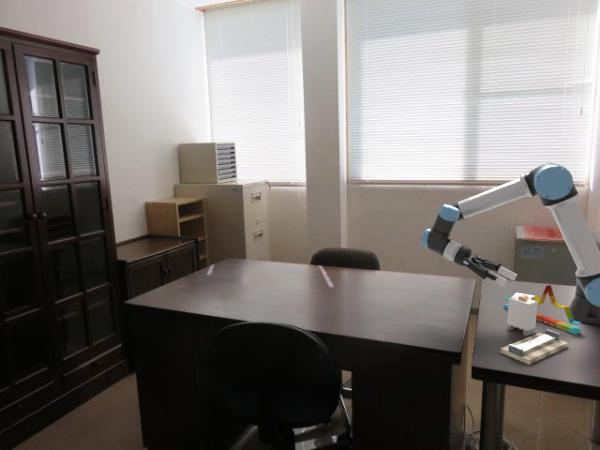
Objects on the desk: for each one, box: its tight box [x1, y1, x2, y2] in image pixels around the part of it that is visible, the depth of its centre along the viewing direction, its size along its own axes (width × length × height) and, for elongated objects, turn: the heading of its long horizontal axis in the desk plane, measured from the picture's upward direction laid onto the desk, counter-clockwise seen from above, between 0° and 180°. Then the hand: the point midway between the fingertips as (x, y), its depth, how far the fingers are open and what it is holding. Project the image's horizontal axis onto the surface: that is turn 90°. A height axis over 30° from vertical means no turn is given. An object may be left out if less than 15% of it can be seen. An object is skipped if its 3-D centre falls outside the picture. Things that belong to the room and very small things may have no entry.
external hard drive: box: [511, 292, 535, 301], centre depth 199 cm, size 2×8×12 cm
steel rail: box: [508, 328, 561, 357], centre depth 152 cm, size 22×4×2 cm, turn 121°
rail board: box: [500, 332, 569, 365], centre depth 153 cm, size 22×10×2 cm, turn 121°
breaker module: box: [506, 295, 538, 337], centre depth 167 cm, size 5×8×13 cm, turn 31°
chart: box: [503, 284, 582, 335], centre depth 176 cm, size 30×3×15 cm, turn 27°
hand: (510, 280), depth 166 cm, fingers open, 13 cm apart
